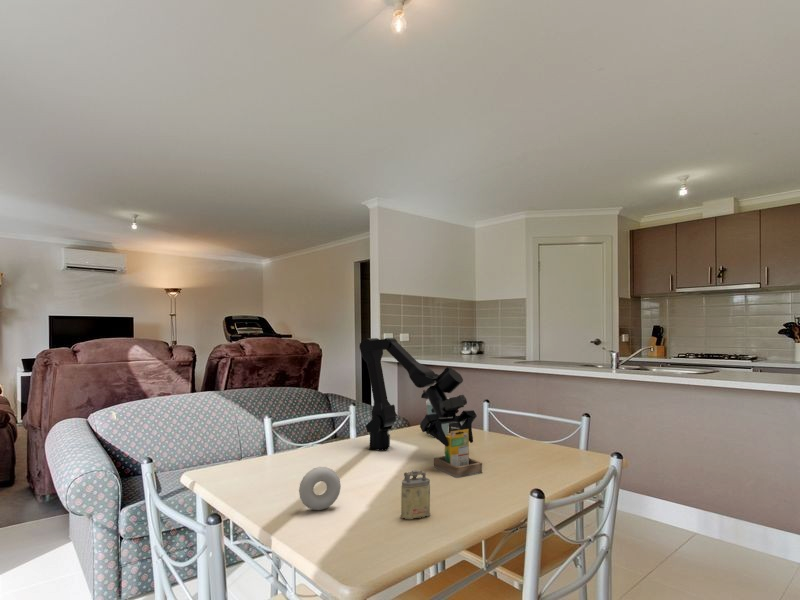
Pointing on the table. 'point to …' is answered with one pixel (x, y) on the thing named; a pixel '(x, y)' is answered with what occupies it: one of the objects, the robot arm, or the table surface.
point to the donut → (328, 496)
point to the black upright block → (454, 427)
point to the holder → (459, 471)
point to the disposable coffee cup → (429, 408)
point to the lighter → (415, 495)
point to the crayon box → (457, 448)
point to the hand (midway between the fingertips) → (460, 444)
